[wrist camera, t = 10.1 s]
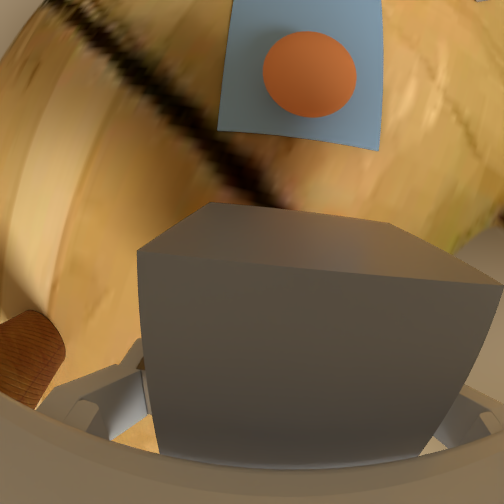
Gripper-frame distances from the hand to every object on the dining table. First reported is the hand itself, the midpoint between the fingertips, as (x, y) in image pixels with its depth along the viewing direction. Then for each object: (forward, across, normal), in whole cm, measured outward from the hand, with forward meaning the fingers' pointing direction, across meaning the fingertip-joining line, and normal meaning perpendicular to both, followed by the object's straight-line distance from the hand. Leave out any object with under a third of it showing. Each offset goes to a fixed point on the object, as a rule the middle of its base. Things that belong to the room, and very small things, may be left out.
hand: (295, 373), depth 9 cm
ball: (+8, 0, +12) cm, 14 cm away
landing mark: (+10, 0, +15) cm, 18 cm away
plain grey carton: (+4, 0, 0) cm, 4 cm away
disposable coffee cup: (+12, -22, -10) cm, 27 cm away
